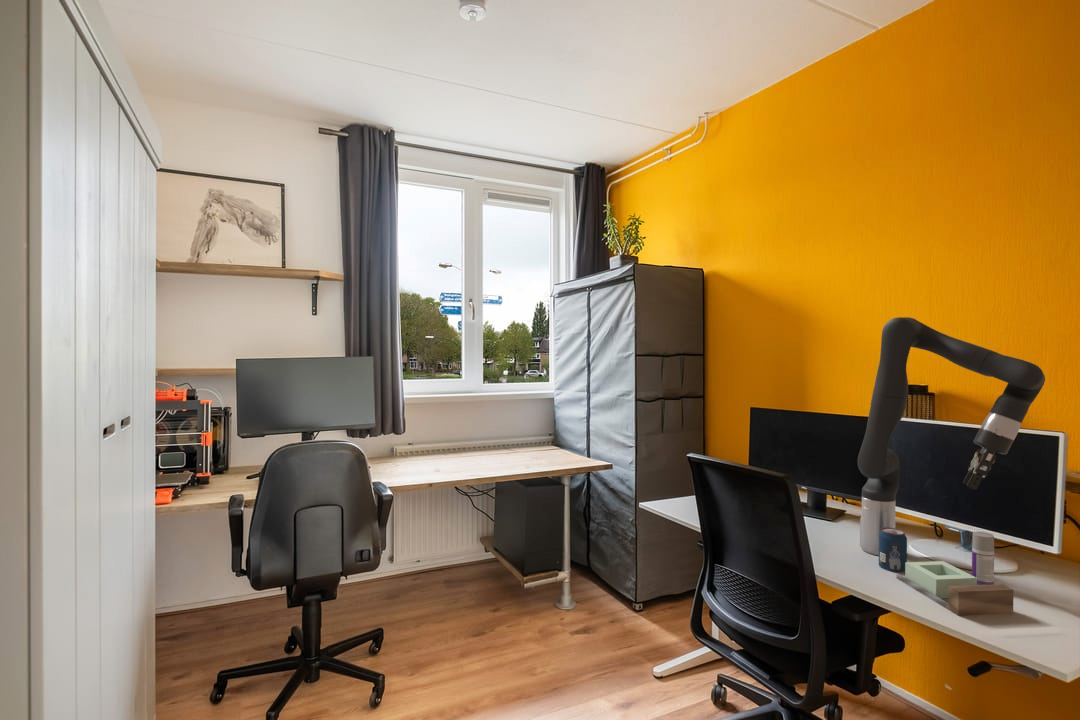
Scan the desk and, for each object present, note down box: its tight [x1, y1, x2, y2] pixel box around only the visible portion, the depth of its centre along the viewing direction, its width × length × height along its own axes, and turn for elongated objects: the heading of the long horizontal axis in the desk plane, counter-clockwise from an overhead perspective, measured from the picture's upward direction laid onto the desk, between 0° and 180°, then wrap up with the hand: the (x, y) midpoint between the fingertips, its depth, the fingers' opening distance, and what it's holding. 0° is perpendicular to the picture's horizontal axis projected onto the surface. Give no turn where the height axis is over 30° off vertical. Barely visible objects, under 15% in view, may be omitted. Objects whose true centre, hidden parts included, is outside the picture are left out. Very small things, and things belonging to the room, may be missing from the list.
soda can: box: [878, 527, 908, 573], centre depth 161 cm, size 7×7×12 cm
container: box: [971, 531, 995, 585], centre depth 149 cm, size 5×5×15 cm
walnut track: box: [895, 574, 1015, 617], centre depth 143 cm, size 23×14×7 cm, turn 3°
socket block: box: [904, 560, 977, 599], centre depth 147 cm, size 11×11×5 cm
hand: (969, 486), depth 150 cm, fingers open, 8 cm apart
